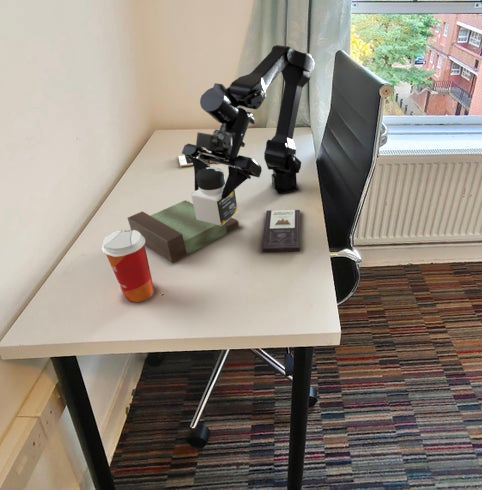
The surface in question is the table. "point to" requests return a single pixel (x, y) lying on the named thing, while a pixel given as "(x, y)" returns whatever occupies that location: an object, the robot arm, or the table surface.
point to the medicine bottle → (213, 198)
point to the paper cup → (129, 264)
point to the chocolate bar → (282, 231)
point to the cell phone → (186, 161)
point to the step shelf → (177, 230)
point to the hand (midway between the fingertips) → (209, 194)
